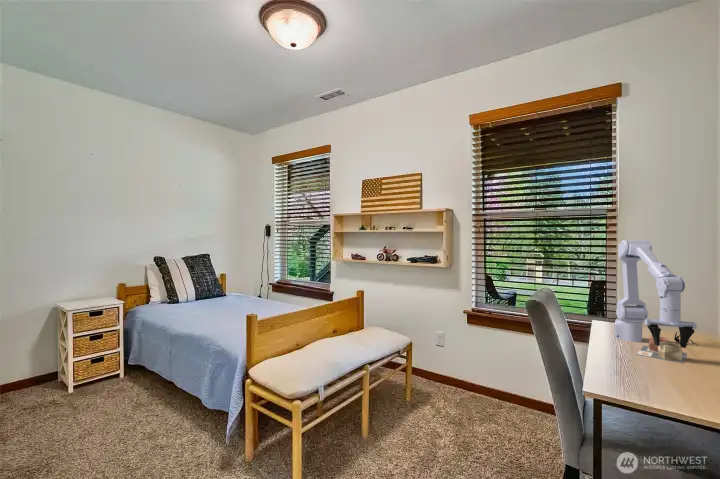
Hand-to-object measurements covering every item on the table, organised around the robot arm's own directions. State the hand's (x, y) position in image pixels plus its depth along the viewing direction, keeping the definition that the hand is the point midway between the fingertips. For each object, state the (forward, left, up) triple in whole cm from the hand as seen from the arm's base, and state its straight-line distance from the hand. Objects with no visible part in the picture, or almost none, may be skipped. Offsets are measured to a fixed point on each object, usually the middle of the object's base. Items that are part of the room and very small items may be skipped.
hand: (669, 346), depth 126 cm
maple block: (0, 0, -4) cm, 4 cm away
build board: (-3, +4, -5) cm, 7 cm away
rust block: (-4, +8, -4) cm, 10 cm away
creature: (+3, +29, -6) cm, 30 cm away
